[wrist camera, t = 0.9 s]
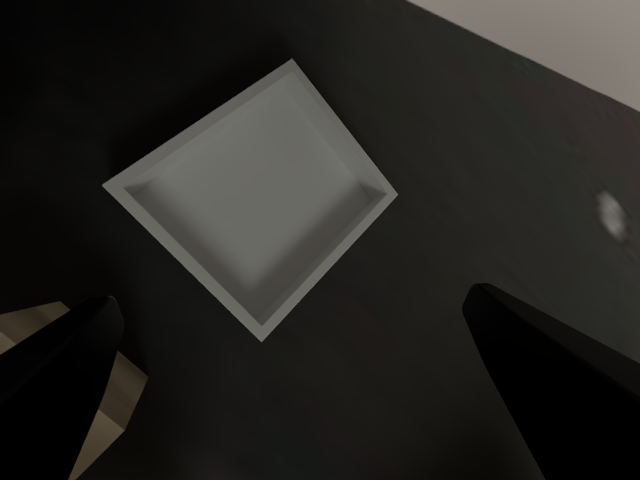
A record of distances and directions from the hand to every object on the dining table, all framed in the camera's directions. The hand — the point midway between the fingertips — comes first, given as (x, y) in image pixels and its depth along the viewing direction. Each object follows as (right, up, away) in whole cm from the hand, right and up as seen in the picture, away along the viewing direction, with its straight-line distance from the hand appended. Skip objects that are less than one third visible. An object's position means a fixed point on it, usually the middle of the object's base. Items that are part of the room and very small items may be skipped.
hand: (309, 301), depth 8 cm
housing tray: (-3, +4, +12) cm, 13 cm away
